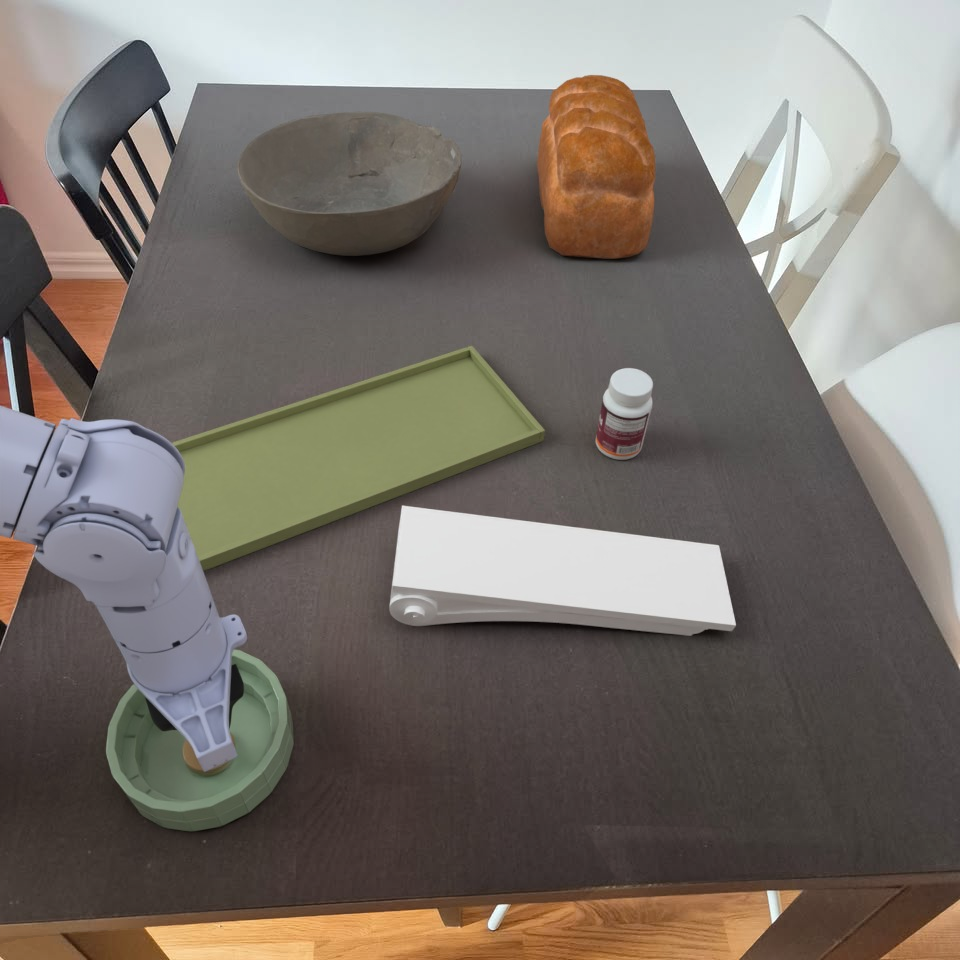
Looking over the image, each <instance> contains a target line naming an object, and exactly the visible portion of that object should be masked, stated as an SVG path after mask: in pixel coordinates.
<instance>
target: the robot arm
mask: <svg viewBox="0 0 960 960" xmlns="http://www.w3.org/2000/svg"><path fill="white" fill-rule="evenodd" d="M184 474H185V464H184V460H183V458H182V456H181V454H180V452H179V451H178V450H177V448H176V447H175V446H174V445H173V444H172V442H171V441H170V440H168V439H167V438H166V437H165V436H163V435H162V434H160V433H158V432H156V431H155V430H154V431H153V430H152V429H149V428H147V427H144V426H143V425H141V424H140V423H138V422H136V421H132V420H127V419H126V420H125V419H115V418H113V419H109V418H108V419H100V420H94V421H84V420H80V419H76V418H74V417H71V418H70V419H66V418H61V419H60V420H59V423H58V425H57V424H56V423H54V422H50V421H47V420H45V419H41V418H38V417H36V416H33V415H30V414H26V413H25V412H21V411H17V410H15V409H12V408H9V407H6V406H3V405H0V537H4V538H7V539H11V538H12V539H13V540H15V541H19V542H22V543H25V544H29V545H33V546H36V547H37V551H36V550H35V551H33V553H32V555H33V556H34V558H35V559H36V560H37V562H38V563H39V564H40V565H41V566H42V567H44V568H45V569H46V570H48V571H49V572H50V573H52V574H54V575H55V576H57V577H59V578H61V579H63V580H65V581H67V582H68V583H71V584H73V585H74V586H75V587H77V588H78V589H79V591H80V592H81V594H82V595H83V597H84V598H85V601H86V602H92V603H93V604H94V606H95V608H96V609H97V611H98V613H99V614H100V616H101V618H102V620H103V622H104V623H105V625H106V627H107V629H108V632H110V635H111V637H112V638H113V641H114V643H115V644H116V646H117V647H118V649H119V651H120V653H121V655H122V657H123V658H124V661H125V663H126V668H127V669H126V670H127V673H128V674H129V675H128V676H129V677H130V679H131V681H132V683H133V684H134V685H135V686H136V687H137V688H138V690H139V691H140V692H141V693H142V694H143V695H144V696H145V700H146V703H147V706H148V709H149V712H150V716H151V718H152V720H153V722H154V724H155V725H156V726H157V727H158V728H159V729H160V730H161V731H170V730H178V731H179V732H180V733H181V734H182V735H183V736H184V737H185V739H186V740H187V741H188V742H189V743H190V745H191V746H192V748H193V750H194V752H195V755H196V757H197V759H198V761H199V763H200V765H201V767H202V769H203V771H204V772H206V771H208V770H210V769H212V768H214V767H217V766H219V765H221V764H223V763H226V762H227V761H229V760H231V759H234V758H236V757H237V756H238V755H237V752H236V750H235V747H234V744H233V742H232V739H231V736H230V730H229V729H230V725H231V717H232V708H233V706H234V704H235V703H236V702H237V701H238V700H239V699H240V698H242V696H243V695H244V684H243V680H242V678H241V675H240V673H239V670H238V668H237V665H236V664H233V665H231V663H232V652H233V650H234V649H235V650H236V648H238V647H239V648H240V647H241V646H243V645H244V644H246V643H247V641H248V635H247V631H246V628H245V626H244V624H243V621H242V620H241V617H240V616H239V615H238V614H234V613H233V614H229V615H226V616H223V617H220V614H219V612H218V609H217V606H216V603H215V601H214V598H213V595H212V592H211V589H210V586H209V583H208V580H207V578H206V575H205V571H203V569H202V566H201V564H200V561H199V558H198V555H197V553H196V550H195V547H194V544H193V542H192V539H191V537H190V534H189V531H188V529H187V526H186V523H185V520H184V517H183V515H182V512H181V510H180V508H179V507H178V503H179V499H180V495H181V492H182V488H183V484H184Z"/></svg>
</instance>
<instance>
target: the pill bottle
mask: <svg viewBox="0 0 960 960" xmlns="http://www.w3.org/2000/svg"><path fill="white" fill-rule="evenodd" d="M653 388H654V382H653V379H652V378H651V376H650V375H649V374H647V373H646V371H643V370H641V369H638V368H632V367H625V368H621V369H618V370H616V371H614V372H613V373H612V375H611V376H610V379H609V383H608V387H607V389H606V390H605V392H604V393H603V396H602V398H601V407H600V412H599V417H598V422H597V431H596V434H595V445H596V447H597V449H598V450H599V452H601V454H603V455H604V456H606V457H608V458H610V459H613V460H617V461H618V460H619V461H626V460H629V459H630V460H631V459H633V458H635V457H637V456H638V455H639V454H640V453H641V451H642V449H643V445H644V441H645V437H646V433H647V429H648V425H649V420H650V417H651V413H652V409H653V402H654V401H653V397H652V394H653Z"/></svg>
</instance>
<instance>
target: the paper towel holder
mask: <svg viewBox="0 0 960 960" xmlns="http://www.w3.org/2000/svg"><path fill="white" fill-rule="evenodd" d="M230 736H231V739H232V742H233V744H234V747H235V740H234V737H233V735H232V734H231V732H230ZM235 750H236V749H235ZM183 758H184V762H185V764H186V766H187V768H188V769H189V770H190V771H192V772H193V773H195V774H198V775H204V776H208V775H214V774H217V773H219V772H221V771H223V770H224V769H225V768H227V767H228V766H229V764H230V763H231V762H232V760H233V759H231V760H229V761H227V762H226V763H223V764H221V765H219V766H217V767H214V768H212V769H210V770H208V771H206V772H204V771H203V769H202V767H201V765H200V763H199V761H198V759H197V757H196V755H195V752H194V750H193V748H192V746H191V745H190V743H189V742H188V741H187V740H185V742H184V745H183Z"/></svg>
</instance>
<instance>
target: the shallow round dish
mask: <svg viewBox="0 0 960 960" xmlns="http://www.w3.org/2000/svg"><path fill="white" fill-rule="evenodd" d="M233 664H236V665H237V668H238V670H239V673H240V675H241V678H242V680H243V684H244V695H243V696H242V698H240V699H239V700H238V701H237V702H236V703H235V704H234V706H233V708H232V717H231V725H230V729H229V730H230V732H231V734H232V735H233V737H234V740H235V749H236V752H237V755H238V756H237V757H236V758H234V759H233V760H232V762H231V763H230V764H229V766H228V767H227V768H225V769H224V770H223V771H221V772H219V773H217V774H214V775H208V776H204V775H198V774H195V773H193V772H192V771H190V770H189V769H188V768H187V766H186V764H185V762H184V758H183V745H184V742H185V740H186V739H185V737H184V736H183V735H182V734H181V733H180V732H179V731H178V730H170V731H161V730H160V729H159V728H158V727H157V726H156V725H155V724H154V722H153V720H152V718H151V716H150V712H149V709H148V706H147V703H146V700H145V696H144V695H143V694H142V693H141V692H140V691H139V690H138V688H137V687H136V686H135V685H134V683H133V684H132V685H131V686H130V687H129V689H128V690H127V691H126V692H125V694H124V695H123V696H122V697H121V698H120V700H119V701H118V704H117V706H116V708H115V710H114V712H113V715H112V717H111V719H110V722H109V723H108V726H107V737H106V745H105V746H106V747H105V754H106V758H107V761H108V766H109V769H110V773H111V776H112V778H113V779H114V780H115V782H116V783H117V785H118V786H119V787H120V789H121V791H122V792H123V793H124V795H125V796H126V798H127V799H128V800H129V802H130V803H131V804H132V805H133V806H134V807H135V809H136V810H137V812H138V813H139V814H140V815H141V816H142V817H143V818H145V819H148V820H149V821H151V822H153V823H155V824H157V825H158V826H160V827H162V828H165V829H170V830H177V831H185V832H198V831H203V830H209V829H214V828H215V829H216V828H220V827H223V826H225V825H227V824H229V823H231V822H233V821H236V820H238V819H240V818H241V817H243V816H245V815H248V814H249V813H251V812H252V811H253V810H254V809H255V808H256V807H257V806H258V805H259V804H261V803H262V802H263V801H264V800H265V799H267V797H268V796H269V795H271V793H272V792H273V791H274V789H275V788H276V786H277V785H278V783H279V781H280V780H281V778H282V777H283V775H284V773H285V772H286V770H288V769H287V768H288V766H289V762H290V759H291V755H292V752H293V748H294V742H295V740H294V739H295V737H294V720H293V716H292V712H291V709H290V705H289V702H288V699H287V696H286V693H285V691H284V689H283V687H282V684H281V682H280V679H279V677H278V676H277V674H276V673H274V671H273V670H272V669H271V668H270V667H269V666H268V665H266V663H264V661H262V659H259V658H257V657H255V656H253V655H251V654H248V653H246V652H244V651H242V650H240V649H236V648H235V649H234V650H233V652H232V663H231V665H233Z"/></svg>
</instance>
